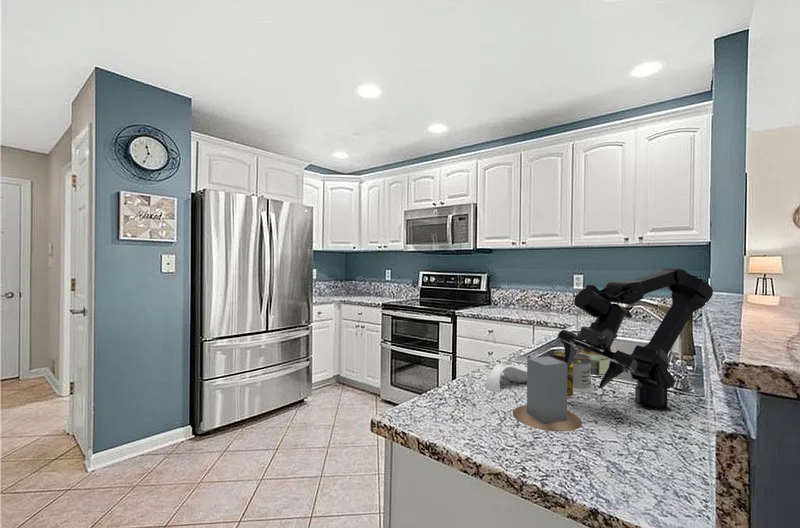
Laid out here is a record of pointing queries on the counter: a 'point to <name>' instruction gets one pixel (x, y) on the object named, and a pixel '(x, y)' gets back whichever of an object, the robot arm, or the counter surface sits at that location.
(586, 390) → the french press
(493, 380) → the white curved piece
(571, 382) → the condiment
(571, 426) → the plate
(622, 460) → the counter surface
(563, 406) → the grey tall block
